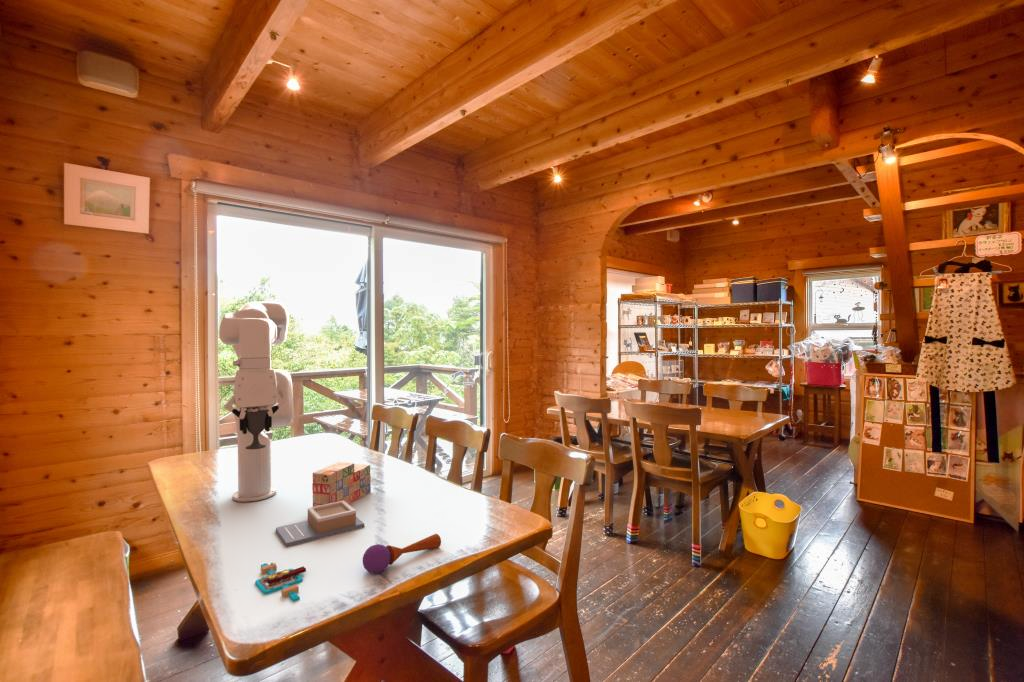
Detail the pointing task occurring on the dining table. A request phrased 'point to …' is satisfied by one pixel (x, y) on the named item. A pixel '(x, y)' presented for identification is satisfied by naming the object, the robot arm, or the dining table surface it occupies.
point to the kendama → (394, 553)
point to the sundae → (256, 424)
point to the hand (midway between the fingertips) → (255, 431)
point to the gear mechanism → (276, 579)
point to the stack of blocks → (341, 483)
